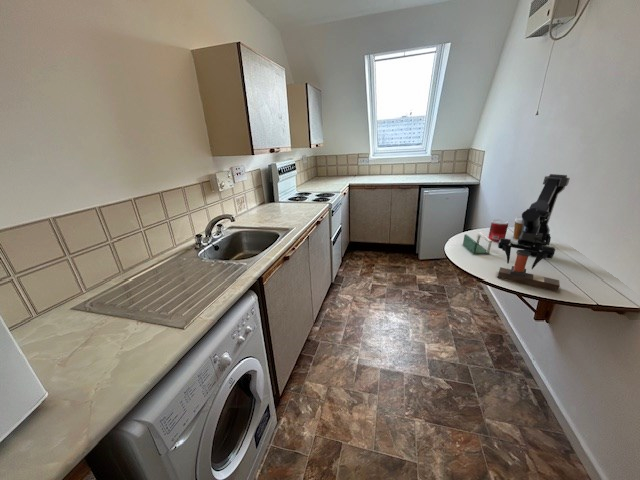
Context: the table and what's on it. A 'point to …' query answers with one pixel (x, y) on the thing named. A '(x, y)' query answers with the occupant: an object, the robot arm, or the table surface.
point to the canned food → (498, 230)
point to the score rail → (530, 280)
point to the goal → (476, 244)
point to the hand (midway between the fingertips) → (519, 265)
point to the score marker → (520, 263)
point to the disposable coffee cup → (517, 227)
